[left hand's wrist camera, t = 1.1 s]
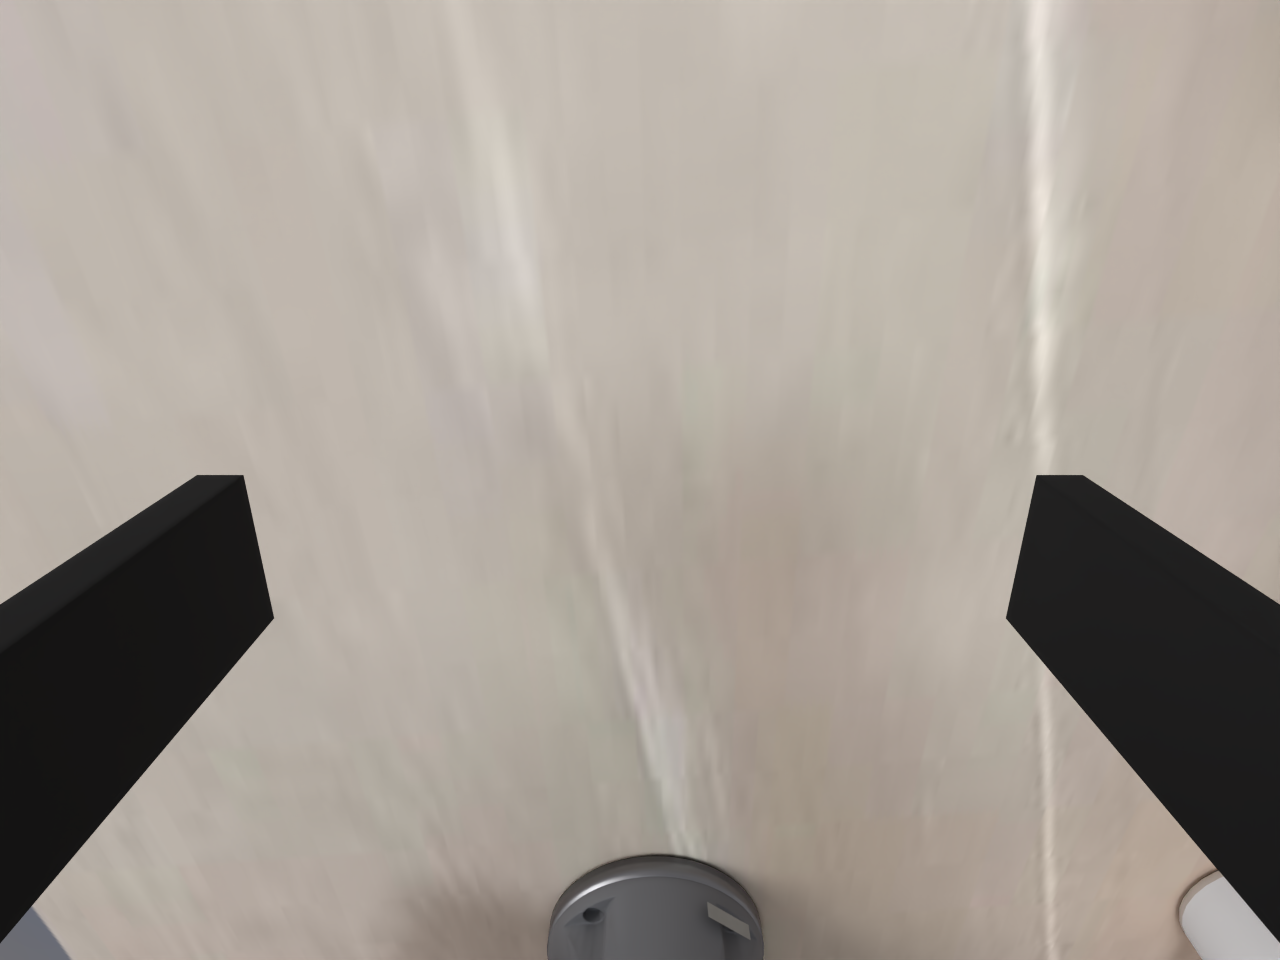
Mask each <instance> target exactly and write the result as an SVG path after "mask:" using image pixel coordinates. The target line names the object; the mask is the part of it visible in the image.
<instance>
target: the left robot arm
mask: <svg viewBox="0 0 1280 960" xmlns="http://www.w3.org/2000/svg"><path fill="white" fill-rule="evenodd" d="M273 619H274V616H273V611H272V607H271V602H270V597H269V592H268V588H267V583H266V578H265V574H264V569H263V564H262V560H261V555H260V550H259V546H258V541H257V536H256V532H255V527H254V522H253V518H252V513H251V508H250V504H249V499H248V494H247V490H246V485H245V480H244V476H243V475H197V476H195V477H194V478H192V479H191V480H189V481H188V482H186V483H184V484H183V485H181V486H180V487H178V488H177V489H175V490H174V491H172V492H171V493H169V494H168V495H166V496H165V497H163V498H162V499H160V500H159V501H157V502H156V503H154V504H153V505H151V506H149V507H148V508H146V509H145V510H143V511H142V512H140V513H139V514H137V515H136V516H134V517H133V518H131V519H130V520H128V521H127V522H125V523H124V524H122V525H121V526H119V527H118V528H116V529H114V530H113V531H111V532H110V533H108V534H107V535H105V536H104V537H102V538H101V539H99V540H98V541H96V542H95V543H93V544H92V545H90V546H89V547H87V548H86V549H84V550H83V551H81V552H79V553H78V554H76V555H75V556H73V557H72V558H70V559H69V560H67V561H66V562H64V563H63V564H61V565H60V566H58V567H57V568H55V569H54V570H52V571H51V572H49V573H48V574H46V575H45V576H43V577H41V578H40V579H38V580H37V581H35V582H34V583H32V584H31V585H29V586H28V587H26V588H25V589H23V590H22V591H20V592H19V593H17V594H16V595H14V596H13V597H11V598H10V599H8V600H6V601H5V602H3V603H2V604H0V943H1V942H2V940H3V939H4V938H5V937H6V936H7V934H8V933H9V932H10V931H11V930H12V929H13V927H14V926H15V925H16V924H17V923H18V922H19V920H20V919H21V918H22V917H23V916H24V914H25V913H26V912H27V911H28V910H29V908H30V907H31V906H32V905H33V904H34V903H35V901H36V900H37V899H38V898H39V897H40V895H41V894H42V893H43V892H44V891H45V889H46V888H47V887H48V886H49V885H50V884H51V882H52V881H53V880H54V879H55V878H56V876H57V875H58V874H59V873H60V872H61V870H62V869H63V868H64V867H65V866H66V865H67V863H68V862H69V861H70V860H71V859H72V857H73V856H74V855H75V854H76V853H77V851H78V850H79V849H80V848H81V847H82V846H83V844H84V843H85V842H86V841H87V840H88V838H89V837H90V836H91V835H92V834H93V833H94V831H95V830H96V829H97V828H98V827H99V825H100V824H101V823H102V822H103V821H104V819H105V818H106V817H107V816H108V815H109V814H110V812H111V811H112V810H113V809H114V808H115V806H116V805H117V804H118V803H119V802H120V800H121V799H122V798H123V797H124V796H125V795H126V793H127V792H128V791H129V790H130V789H131V787H132V786H133V785H134V784H135V783H136V781H137V780H138V779H139V778H140V777H141V776H142V774H143V773H144V772H145V771H146V770H147V768H148V767H149V766H150V765H151V764H152V763H153V761H154V760H155V759H156V758H157V757H158V755H159V754H160V753H161V752H162V751H163V749H164V748H165V747H166V746H167V745H168V744H169V742H170V741H171V740H172V739H173V738H174V736H175V735H176V734H177V733H178V732H179V730H180V729H181V728H182V727H183V726H184V725H185V723H186V722H187V721H188V720H189V719H190V717H191V716H192V715H193V714H194V713H195V711H196V710H197V709H198V708H199V707H200V706H201V704H202V703H203V702H204V701H205V700H206V698H207V697H208V696H209V695H210V694H211V692H212V691H213V690H214V689H215V688H216V687H217V685H218V684H219V683H220V682H221V681H222V679H223V678H224V677H225V676H226V675H227V674H228V672H229V671H230V670H231V669H232V668H233V666H234V665H235V664H236V663H237V662H238V660H239V659H240V658H241V657H242V656H243V655H244V653H245V652H246V651H247V650H248V649H249V647H250V646H251V645H252V644H253V643H254V641H255V640H256V639H257V638H258V637H259V636H260V634H261V633H262V632H263V631H264V630H265V628H266V627H267V626H268V625H269V624H270V622H271V621H272V620H273ZM1006 619H1007V620H1008V621H1009V622H1010V624H1011V625H1012V626H1013V627H1014V628H1015V630H1016V631H1017V632H1018V633H1019V634H1020V636H1021V637H1022V638H1023V639H1024V640H1025V641H1026V643H1027V644H1028V645H1029V646H1030V647H1031V649H1032V650H1033V651H1034V652H1035V653H1036V655H1037V656H1038V657H1039V658H1040V659H1041V660H1042V662H1043V663H1044V664H1045V665H1046V666H1047V668H1048V669H1049V670H1050V671H1051V672H1052V674H1053V675H1054V676H1055V677H1056V678H1057V679H1058V681H1059V682H1060V683H1061V684H1062V685H1063V687H1064V688H1065V689H1066V690H1067V691H1068V692H1069V694H1070V695H1071V696H1072V697H1073V698H1074V700H1075V701H1076V702H1077V703H1078V704H1079V706H1080V707H1081V708H1082V709H1083V710H1084V711H1085V713H1086V714H1087V715H1088V716H1089V717H1090V719H1091V720H1092V721H1093V722H1094V723H1095V725H1096V726H1097V727H1098V728H1099V729H1100V730H1101V732H1102V733H1103V734H1104V735H1105V736H1106V738H1107V739H1108V740H1109V741H1110V742H1111V744H1112V745H1113V746H1114V747H1115V748H1116V749H1117V751H1118V752H1119V753H1120V754H1121V755H1122V757H1123V758H1124V759H1125V760H1126V761H1127V763H1128V764H1129V765H1130V766H1131V767H1132V768H1133V770H1134V771H1135V772H1136V773H1137V774H1138V776H1139V777H1140V778H1141V779H1142V780H1143V781H1144V783H1145V784H1146V785H1147V786H1148V787H1149V789H1150V790H1151V791H1152V792H1153V793H1154V795H1155V796H1156V797H1157V798H1158V799H1159V800H1160V802H1161V803H1162V804H1163V805H1164V806H1165V808H1166V809H1167V810H1168V811H1169V812H1170V814H1171V815H1172V816H1173V817H1174V818H1175V819H1176V821H1177V822H1178V823H1179V824H1180V825H1181V827H1182V828H1183V829H1184V830H1185V831H1186V833H1187V834H1188V835H1189V836H1190V837H1191V838H1192V840H1193V841H1194V842H1195V843H1196V844H1197V846H1198V847H1199V848H1200V849H1201V850H1202V851H1203V853H1204V854H1205V855H1206V856H1207V857H1208V859H1209V860H1210V861H1211V862H1212V863H1213V865H1214V866H1215V867H1216V868H1217V869H1218V870H1219V872H1220V873H1221V874H1222V875H1223V876H1224V878H1225V879H1226V880H1227V881H1228V882H1229V884H1230V885H1231V886H1232V887H1233V888H1234V889H1235V891H1236V892H1237V893H1238V894H1239V895H1240V897H1241V898H1242V899H1243V900H1244V901H1245V903H1246V904H1247V905H1248V906H1249V907H1250V908H1251V910H1252V911H1253V912H1254V913H1255V914H1256V916H1257V917H1258V918H1259V919H1260V920H1261V922H1262V923H1263V924H1264V925H1265V926H1266V927H1267V929H1268V930H1269V931H1270V932H1271V933H1272V935H1273V936H1274V937H1275V938H1276V939H1277V940H1278V942H1279V943H1280V604H1278V603H1277V602H1275V601H1274V600H1272V599H1270V598H1269V597H1267V596H1266V595H1264V594H1263V593H1261V592H1260V591H1258V590H1257V589H1255V588H1254V587H1252V586H1251V585H1249V584H1248V583H1246V582H1245V581H1243V580H1242V579H1240V578H1239V577H1237V576H1235V575H1234V574H1232V573H1231V572H1229V571H1228V570H1226V569H1225V568H1223V567H1222V566H1220V565H1219V564H1217V563H1216V562H1214V561H1213V560H1211V559H1210V558H1208V557H1207V556H1205V555H1204V554H1202V553H1201V552H1199V551H1197V550H1196V549H1194V548H1193V547H1191V546H1190V545H1188V544H1187V543H1185V542H1184V541H1182V540H1181V539H1179V538H1178V537H1176V536H1175V535H1173V534H1172V533H1170V532H1169V531H1167V530H1166V529H1164V528H1162V527H1161V526H1159V525H1158V524H1156V523H1155V522H1153V521H1152V520H1150V519H1149V518H1147V517H1146V516H1144V515H1143V514H1141V513H1140V512H1138V511H1137V510H1135V509H1134V508H1132V507H1131V506H1129V505H1127V504H1126V503H1124V502H1123V501H1121V500H1120V499H1118V498H1117V497H1115V496H1114V495H1112V494H1111V493H1109V492H1108V491H1106V490H1105V489H1103V488H1102V487H1100V486H1099V485H1097V484H1096V483H1094V482H1092V481H1091V480H1089V479H1088V478H1086V477H1085V476H1083V475H1037V476H1036V480H1035V485H1034V490H1033V494H1032V499H1031V504H1030V508H1029V513H1028V518H1027V522H1026V527H1025V532H1024V536H1023V541H1022V546H1021V550H1020V555H1019V560H1018V564H1017V569H1016V574H1015V578H1014V583H1013V588H1012V592H1011V597H1010V602H1009V607H1008V611H1007V616H1006ZM547 955H548V960H763V955H764V944H763V937H762V930H761V924H760V918H759V914H758V911H757V909H756V906H755V904H754V903H753V901H752V899H751V898H750V896H749V895H748V894H747V892H746V891H745V890H744V889H743V888H742V887H741V886H740V885H739V884H738V883H737V882H735V881H734V880H733V879H731V878H730V877H728V876H727V875H726V874H724V873H722V872H720V871H718V870H717V869H714V868H712V867H710V866H707V865H705V864H702V863H699V862H695V861H691V860H688V859H682V858H676V857H667V856H644V857H635V858H629V859H624V860H620V861H616V862H612V863H610V864H607V865H604V866H601V867H599V868H597V869H595V870H593V871H591V872H589V873H587V874H586V875H584V876H583V877H581V878H580V879H578V880H577V881H576V882H575V883H573V884H572V885H571V886H570V887H569V888H568V889H567V890H566V891H565V892H564V894H563V895H562V896H561V897H560V899H559V900H558V902H557V904H556V906H555V908H554V910H553V913H552V917H551V921H550V929H549V937H548V945H547Z"/></svg>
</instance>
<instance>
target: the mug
mask: <svg viewBox="0 0 1280 960" xmlns="http://www.w3.org/2000/svg"><path fill="white" fill-rule="evenodd" d="M1179 922H1180V925H1181V927H1182V929H1183V931H1184V933H1185V934H1186V936H1187V937H1188V939H1189V940H1190V942H1191V943H1192V945H1193V946H1194V948H1195V949H1196V951H1197V953H1198V954H1199V956H1200V957H1201V959H1202V960H1280V943H1279V942H1278V940H1277V939H1276V938H1275V937H1274V936H1273V935H1272V933H1271V932H1270V931H1269V930H1268V929H1267V927H1266V926H1265V925H1264V924H1263V923H1262V922H1261V920H1260V919H1259V918H1258V917H1257V916H1256V914H1255V913H1254V912H1253V911H1252V910H1251V908H1250V907H1249V906H1248V905H1247V904H1246V903H1245V901H1244V900H1243V899H1242V898H1241V897H1240V895H1239V894H1238V893H1237V892H1236V891H1235V889H1234V888H1233V887H1232V886H1231V885H1230V884H1229V882H1228V881H1227V880H1226V879H1225V878H1224V876H1223V875H1222V874H1221V873H1220V872H1219V871H1216V872H1214V873H1212V874H1210V875H1209V876H1207V877H1205V878H1203V879H1202V880H1200V881H1199V882H1198V883H1197V884H1195V885H1194V886H1193V887H1192V888H1191V889H1190V890H1189V891H1188V893H1187V894H1186V895H1185V897H1184V898H1183V900H1182V902H1181V905H1180V908H1179Z"/></svg>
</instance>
